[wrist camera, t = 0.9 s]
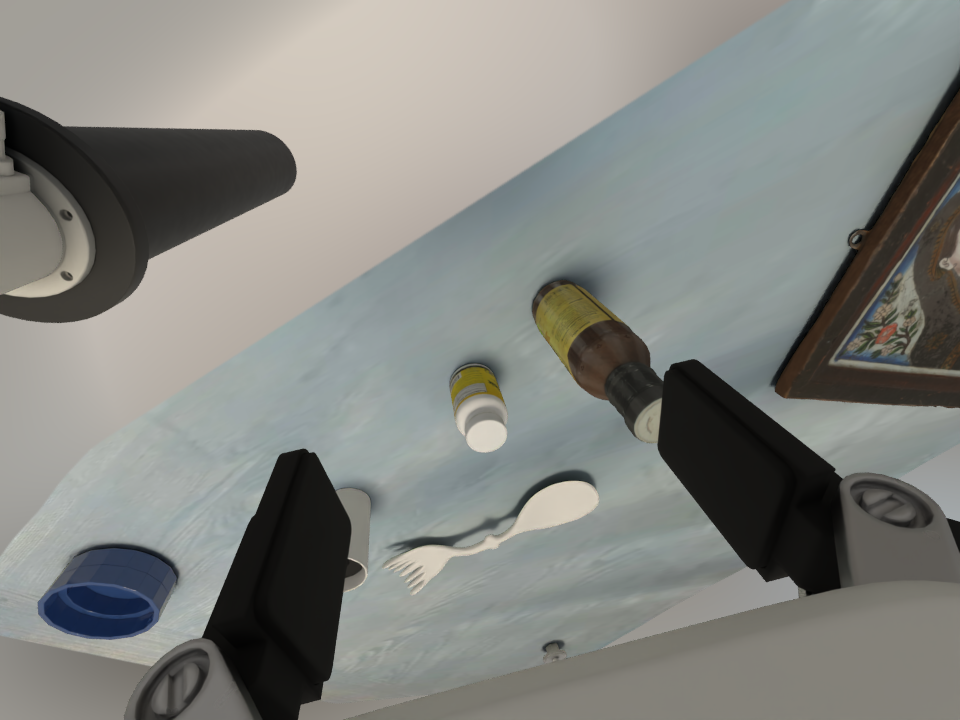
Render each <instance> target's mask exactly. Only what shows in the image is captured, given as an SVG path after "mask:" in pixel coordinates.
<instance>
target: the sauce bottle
mask: <svg viewBox="0 0 960 720" xmlns="http://www.w3.org/2000/svg"><path fill="white" fill-rule="evenodd" d="M532 313H533V317H534V320H535V323H536V325H537V327H538V329H539V331H540V332H541V334H542V335H543V337H544V338H545V339H546V341H547V342H548V343H549V345H550V346H551V347H552V349H553V350H554V352H555V353H556V354H557V356H558V357H559V358H560V360H561V362H562V363H563V364H564V365H565V367H566V368H567V370H568V371H569V373H570V374H571V375H572V377H573V378H574V380H575V381H576V382H577V384H578V385H579V386H580V387H581V388H583V389H584V390H585V391H587V392H588V393H589V394H591V395H593V396H594V397H596V398H599V399H602V400H609V402H610V403H611V404H612V405H613V406H615V408H616V409H617V411H618V412H619V413H620V414H621V415H622V416H623V417H624V420H625V423H626V425H627V427H628V429H629V430H630V431H631V432H632V434H633V435H634V436H635V437H636V438H638V439H639V440H641V441H643V442H646V443H658V434H659V424H660V413H661V403H662V393H663V383H664V382H663V381H662V380H661V379H660V378H659V377H658V376H657V375H656V373H655V372H654V370H653V369H652V368H650V353H649V350H648V348H647V346H646V344H645V343H644V342H643V341H642V339H640V338H639V337H638V336H637V335H636V334H635V333H633V332H632V330H631V329H630V328H629V327H628V326H627V325H626V324H625V323H624V322H623V321H621V320H620V319H619V318H618V317H617V316H616V315H614V314H613V313H612V312H611V311H610V310H609V309H607V308H606V307H605V306H604V305H603V304H602V303H600V302H599V301H598V300H597V299H596V298H594V297H593V296H592V295H591V294H590V293H589V292H587V291H586V290H585V289H584V288H582V287H580V286H578V285H577V284H575V283H573V282H570V281H567V280H560V281H556V282H553V283H551V284H549V285H547V286H545V287H544V288H543V289H542V290H541V291H540V292H539V294H538V295H537V297H536V299H535V300H534V303H533V310H532Z"/></svg>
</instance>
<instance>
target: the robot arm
mask: <svg viewBox="0 0 960 720" xmlns="http://www.w3.org/2000/svg"><path fill="white" fill-rule="evenodd" d="M5 139H6V133H5V118H4V112H2V111H1V110H0V295H1V294H7V295H11V296H19V297H29V298H32V297H47V296H51V295H56V294H59V293H62V292H64V291H66V290H69V289H71V288H73V287H74V286H76V285H77V284H79V283H81V282H82V281H83V280H84V279H85V277H86V276H87V275H88V274H89V273H90V271H91V268H92V266H93V264H94V260H95V253H96V248H95V238H94V234H93V231H92V228H91V225H90V222H89V221H88V219H87V217H86V215H85V213H84V211H83V209H82V208H81V206H80V205H79V204H78V202H77V201H76V200H75V198H74V197H73V195H72V194H71V193H70V192H69V191H68V190H67V189H66V188H65V187H64V186H63V185H62V184H61V183H60V182H59V180H58V179H56V178H55V177H54V176H53V175H52V174H50V173H49V172H48V171H47V170H45V169H44V168H43V167H42V166H40V165H39V164H37V163H36V162H34V161H32V160H31V159H29V158H28V157H26V156H25V155H23V154H21V153H19V152H17V151H15V150H13V149H11V148H9V147H6V146H5V145H4V140H5ZM658 450H659V453H660V455H661V457H662V458H663V460H664V461H665V462H666V463H667V465H668V466H669V467H670V469H671V470H672V471H673V472H674V474H675V475H676V476H677V478H678V479H679V480H680V481H681V483H682V484H683V485H684V487H685V488H686V489H687V490H688V492H689V493H690V494H691V495H692V497H693V498H694V499H695V501H696V502H697V503H698V504H699V506H700V507H701V508H702V510H703V511H704V512H705V513H706V515H707V516H708V517H709V519H710V520H711V521H712V522H713V524H714V525H715V526H716V528H717V529H718V530H719V531H720V533H721V534H722V535H723V536H724V538H725V539H726V540H727V542H728V543H729V544H730V545H731V547H732V548H733V549H734V551H735V552H736V553H737V554H738V556H739V557H740V558H741V560H742V561H743V562H744V563H745V564H746V565H747V566H748V567H749V568H751V569H756V570H757V571H758V572H759V574H760V575H761V576H762V577H763V579H764V580H765V581H766V582H769V581H773V580H776V579H780V578H784V577H788V576H789V577H790V578H791V579H792V580H793V581H794V583H795V584H796V585H797V586H798V593H799V598H798V599H794V600H790V601H785V602H781V603H777V604H773V605H769V606H764V607H761V608H757V609H753V610H749V611H745V612H741V613H738V614H734V615H730V616H726V617H722V618H718V619H714V620H711V621H707V622H703V623H699V624H696V625H691V626H688V627H684V628H680V629H676V630H672V631H668V632H665V633H661V634H657V635H653V636H650V637H645V638H642V639H638V640H634V641H630V642H627V643H623V644H619V645H615V646H612V647H608V648H604V649H600V650H596V651H593V652H589V653H585V654H581V655H578V656H574V657H570V658H566V659H563V660H559V661H555V662H551V663H548V664H544V665H540V666H536V667H533V668H529V669H525V670H522V671H518V672H514V673H510V674H507V675H503V676H499V677H496V678H492V679H488V680H484V681H481V682H477V683H473V684H470V685H466V686H462V687H459V688H455V689H451V690H448V691H444V692H440V693H437V694H433V695H429V696H426V697H422V698H419V699H415V700H412V701H408V702H404V703H400V704H397V705H393V706H389V707H385V708H382V709H378V710H375V711H372V712H368V713H365V714H361V715H358V716H355V717H351V718H348V719H344V720H960V522H958V521H955V520H952V519H948V518H946V516H945V515H944V513H943V511H942V510H941V508H940V507H939V505H938V504H937V503H936V502H935V501H934V500H932V499H931V498H930V497H929V496H928V495H927V494H925V493H924V492H922V491H920V490H919V489H917V488H916V487H914V486H912V485H910V484H908V483H905V482H903V481H901V480H899V479H896V478H892V477H889V476H886V475H882V474H875V473H854V474H851V475H849V476H846V477H845V478H844V479H842V478H841V477H840V476H839V475H837V474H836V473H835V472H834V471H835V468H834V467H833V466H831V465H830V464H829V463H828V462H826V461H825V460H824V459H822V458H821V457H820V456H819V455H817V454H816V453H815V452H814V451H812V450H811V449H810V448H808V447H807V446H806V445H805V444H803V443H802V442H801V441H800V440H798V439H797V438H796V437H794V436H793V435H792V434H791V433H789V432H788V431H787V430H786V429H784V428H783V427H782V426H780V425H779V424H778V423H777V422H775V421H774V420H773V419H772V418H770V417H769V416H768V415H766V414H765V413H764V412H763V411H761V410H760V409H759V408H758V407H756V406H755V405H754V404H753V403H751V402H750V401H749V400H747V399H746V398H745V397H744V396H742V395H741V394H740V393H739V392H737V391H736V390H735V389H733V388H732V387H731V386H730V385H728V384H727V383H726V382H725V381H723V380H722V379H721V378H719V377H718V376H717V375H716V374H714V373H713V372H712V371H711V370H709V369H708V368H707V367H705V366H704V365H703V364H702V363H700V362H699V361H697V360H695V359H692V360H688V361H683V362H679V363H674V364H672V365H671V366H670V369H669V370H668V371H666V372H665V375H664V383H663V393H662V403H661V413H660V424H659V434H658ZM351 533H352V526H351V521H350V518H349V516H348V514H347V512H346V510H345V508H344V506H343V505H342V503H341V501H340V499H339V497H338V495H337V493H336V491H335V489H334V487H333V485H332V483H331V482H330V480H329V478H328V476H327V474H326V472H325V470H324V468H323V466H322V464H321V462H320V460H319V458H318V457H317V455H316V454H315V453H314V452H312V453H309V452H308V450H306V449H300V450H295V451H291V452H287V453H282V454H281V455H279V457H278V459H277V462H276V464H275V467H274V469H273V472H272V474H271V477H270V479H269V482H268V484H267V487H266V489H265V492H264V494H263V497H262V499H261V502H260V504H259V507H258V509H257V512H256V514H255V515H254V516H253V517H252V518H251V520H250V522H249V524H248V526H247V529H246V531H245V534H244V536H243V538H242V541H241V543H240V546H239V548H238V551H237V553H236V556H235V558H234V560H233V563H232V565H231V568H230V570H229V573H228V575H227V578H226V580H225V582H224V585H223V587H222V590H221V592H220V595H219V597H218V600H217V602H216V604H215V607H214V609H213V612H212V614H211V617H210V619H209V622H208V624H207V626H206V629H205V631H204V634H203V636H202V638H199V639H193V640H189V641H187V642H185V643H183V644H181V645H178V646H176V647H175V648H174V649H172V650H171V651H169V652H168V653H167V654H165V655H164V656H163V657H162V658H160V659H159V660H158V661H157V662H156V663H155V664H154V665H153V666H152V667H151V668H150V669H149V671H148V672H147V673H146V674H145V676H144V677H143V678H142V679H141V681H140V682H139V683H138V685H137V687H136V688H135V690H134V692H133V694H132V696H131V698H130V699H129V702H128V705H127V708H126V711H125V714H124V720H298V715H299V710H300V705H301V704H305V703H309V702H313V701H317V700H320V699H321V695H322V688H323V682H324V681H327V680H329V678H330V676H331V672H332V667H333V660H334V653H335V646H336V639H337V632H338V625H339V618H340V611H341V604H342V597H343V590H344V583H345V576H346V569H347V562H348V555H349V547H350V540H351Z"/></svg>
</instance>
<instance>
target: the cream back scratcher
mask: <svg viewBox="0 0 960 720" xmlns="http://www.w3.org/2000/svg"><path fill="white" fill-rule="evenodd" d="M598 503H599V495H598V492H597V490H596V489H595V488H594V486H592V485H591V484H589V483H587V482H583V481H565V482H559V483H556V484H553V485H550V486H548V487H546V488H544V489H542V490H540V491H539V492H537V493H536V494H535V495H534V496H532V497H531V498H530V499H529V501H528V502H527V503H526V504H525V506H524V507H523V509H522V510H521V512H520V514H519V515H518V517H517V519H516V521H515V522H514V524H513V525H512V526H511V527H510V528H509V529H508V530H506V531H505V532H503V533H501V534H499V535H488V536H486V537H485V539H484V540H483V541H481V542H479V543H477V544H474V545H472V546H468V547H451V546H444V545H425V546H421V547H417V548H415V549H412V550H410V551H408V552H405V553H403V554H400V555H397V556H395V557H393V558H391V559H389V560H387V561H386V562H385V563H384V564H383V565H382V568H383V569H384V568H387V567H389V566H390V567H389V570H391V569H394V568H395V570H394V572H397V571H399V570H401V569H402V568H404V567H406V566H407V565H408V566H407V567H406V568H405V569H404V570H403V571H402V572H401V574H400V576H404V575H406V574H408V573H410V572H411V571H413V570H414V571H413V572H412V573H411V574H410V575H409V576H408V577H407V578H406V580H405V581H404V583H406V582H409V581H410V580H412V579H413V578H415V577H416V578H415V579H413V580H412V581H411V582H410V584H409V585H408V587H407V588H410V587H412V586H414V585H416V584H417V585H416V586H415V587H414V588H413V589H412V590H411V591H410V595H414V594H416V593H417V592H419V591H420V590H421V589H422V588H423V587H424V586H425V585H426V584H427V583H428V582H429V581H430V580H431V579H432V578H433V577H434V576H435V575H436V574H438V573H439V572H440V571H441V570H442V569H443V567H444V566H445V564H446V562H447V561H448V560H449V559H450V558H451V557H453V556H466V555H472V554H475V553H478V552H481V551H483V550H486V549H496V548H498V547H499V544H500V543H501V542H503V541H505V540H507V539H508V538H510V537H512V536H514V535H516V534H518V533H521V532H525V531H530V530H536V529H543V528H549V527H553V526H557V525H560V524H563V523H567V522H570V521H573V520H576V519H578V518H580V517H583V516H584V515H586V514H588V513H589V512H591V511H592V510H593V509H595V508H596V506H597V505H598ZM416 568H417V569H416ZM415 569H416V570H415Z"/></svg>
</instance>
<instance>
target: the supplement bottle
mask: <svg viewBox="0 0 960 720" xmlns="http://www.w3.org/2000/svg"><path fill="white" fill-rule="evenodd" d="M450 392H451V398H452V404H453V409H454V416H455V421H456V425H457V428H458V430H459V431H460V432H461V433H462V434H463V435H464V436H465V437H466V441H467V444H468V445H469V446H470V448H472V449H473V450H475V451H478V452H491V451H494V450H496V449H498V448H499V447H501V446H502V445H503V443H504V442H505V440H506V438H507V429H506V426H505V425H506V423H507V418H508V413H507V409H506V405H505V403H504V400H503V397H502V394H501V392H500V389H499V386H498V384H497V381H496V378H495V376H494V374H493V372H492V371H491V370H490V369H489V368H488V367H486V366H484V365H481V364H468V365H465V366H462V367H461V368H459V369H458V370H457V371H456V372H455V373H454V374H453V375H452V377H451V380H450Z"/></svg>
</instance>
